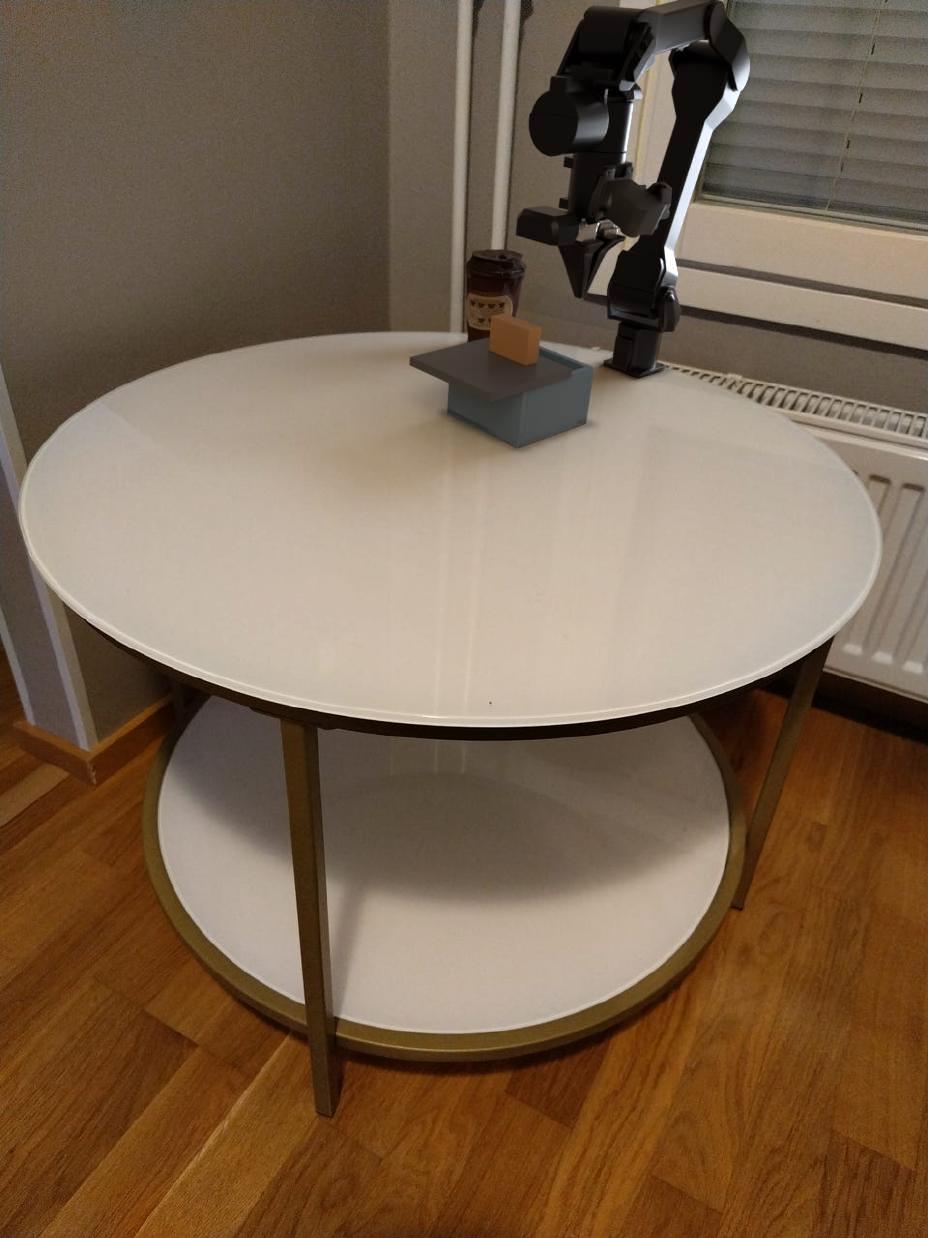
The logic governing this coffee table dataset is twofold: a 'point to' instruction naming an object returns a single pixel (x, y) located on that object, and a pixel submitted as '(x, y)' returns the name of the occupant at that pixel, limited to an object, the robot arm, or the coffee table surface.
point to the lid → (495, 361)
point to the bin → (529, 406)
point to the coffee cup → (492, 288)
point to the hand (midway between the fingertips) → (579, 297)
